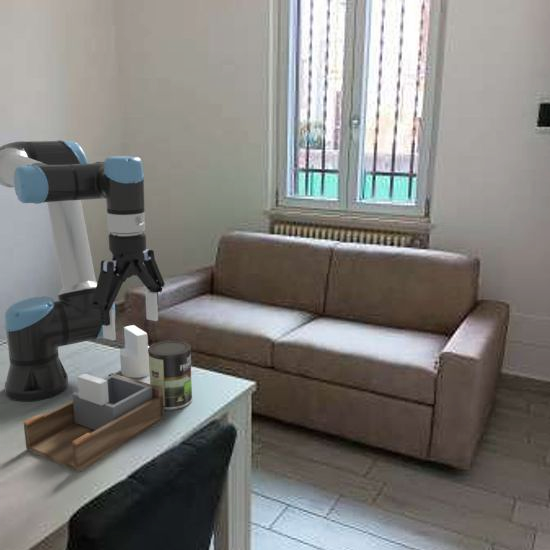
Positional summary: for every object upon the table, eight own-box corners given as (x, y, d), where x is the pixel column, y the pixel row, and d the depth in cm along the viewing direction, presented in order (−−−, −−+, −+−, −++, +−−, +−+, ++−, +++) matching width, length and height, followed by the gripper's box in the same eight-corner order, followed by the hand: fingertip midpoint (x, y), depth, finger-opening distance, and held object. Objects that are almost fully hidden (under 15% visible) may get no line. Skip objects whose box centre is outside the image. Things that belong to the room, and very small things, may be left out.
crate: (72, 423, 132) (68, 373, 129) (114, 401, 142) (111, 355, 139) (113, 438, 126) (109, 386, 123) (153, 414, 136) (151, 366, 133)
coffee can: (198, 393, 150) (196, 341, 147) (184, 412, 140) (182, 357, 137) (160, 389, 152) (157, 338, 149) (143, 408, 142) (140, 353, 139)
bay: (26, 449, 124) (22, 414, 122) (114, 403, 145) (112, 373, 143) (78, 472, 116) (75, 435, 114) (164, 419, 137) (162, 388, 135)
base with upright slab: (115, 369, 165) (113, 329, 162) (145, 362, 170) (143, 322, 167) (129, 380, 158) (126, 338, 155) (159, 372, 163) (157, 331, 160)
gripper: (96, 245, 109) (103, 351, 115) (178, 225, 131) (180, 315, 136) (67, 240, 113) (75, 344, 118) (151, 221, 134) (155, 310, 140)
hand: (131, 329), depth 127 cm, fingers open, 13 cm apart
